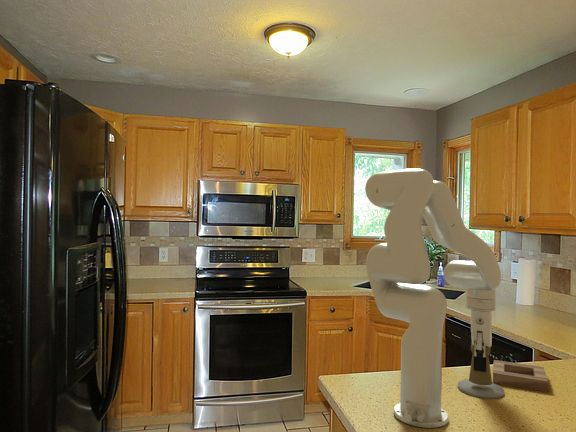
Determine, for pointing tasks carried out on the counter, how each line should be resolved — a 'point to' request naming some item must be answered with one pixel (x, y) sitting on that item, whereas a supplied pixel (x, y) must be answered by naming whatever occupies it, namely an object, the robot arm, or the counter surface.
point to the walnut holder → (520, 375)
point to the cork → (478, 376)
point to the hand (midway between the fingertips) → (480, 367)
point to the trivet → (481, 389)
